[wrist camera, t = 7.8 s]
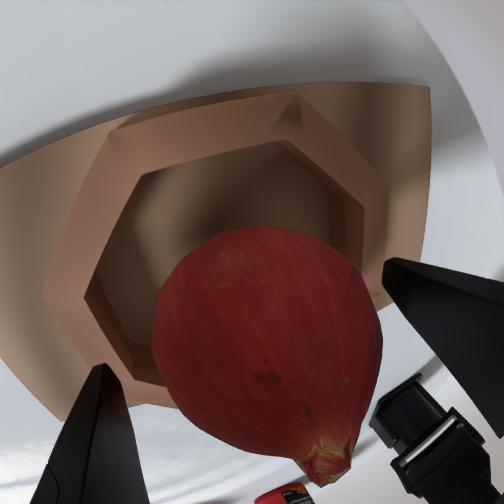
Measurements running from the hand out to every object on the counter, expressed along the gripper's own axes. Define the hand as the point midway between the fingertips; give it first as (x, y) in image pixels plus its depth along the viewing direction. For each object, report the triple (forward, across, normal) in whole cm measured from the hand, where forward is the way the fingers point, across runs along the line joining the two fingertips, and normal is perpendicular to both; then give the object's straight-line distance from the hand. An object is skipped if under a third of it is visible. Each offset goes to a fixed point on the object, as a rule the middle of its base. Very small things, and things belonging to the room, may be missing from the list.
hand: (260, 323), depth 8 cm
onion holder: (+4, 0, 0) cm, 4 cm away
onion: (+3, 0, 0) cm, 3 cm away
